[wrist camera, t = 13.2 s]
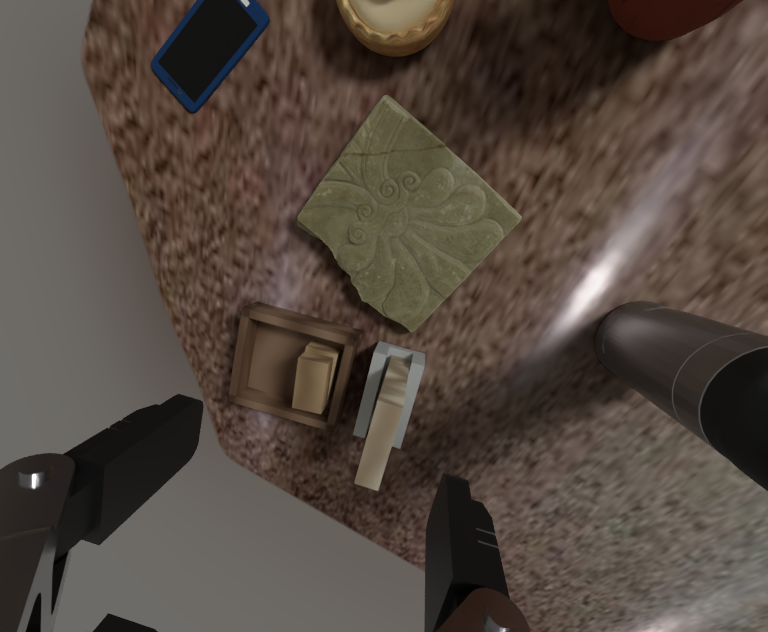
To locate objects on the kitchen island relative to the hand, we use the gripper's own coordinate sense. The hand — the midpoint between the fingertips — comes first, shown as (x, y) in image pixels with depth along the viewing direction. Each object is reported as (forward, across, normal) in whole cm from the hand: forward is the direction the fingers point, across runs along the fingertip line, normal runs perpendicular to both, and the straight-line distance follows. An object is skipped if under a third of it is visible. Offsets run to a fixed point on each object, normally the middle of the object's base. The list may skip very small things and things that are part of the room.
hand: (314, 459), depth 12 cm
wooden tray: (+34, +10, +12) cm, 38 cm away
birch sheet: (+33, -2, +12) cm, 35 cm away
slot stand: (+34, -2, +12) cm, 36 cm away
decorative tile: (+35, +2, -8) cm, 36 cm away
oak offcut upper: (+31, +7, +12) cm, 34 cm away
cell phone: (+35, +28, -22) cm, 50 cm away
